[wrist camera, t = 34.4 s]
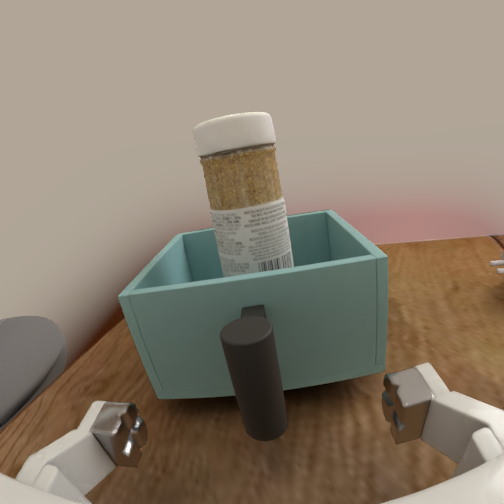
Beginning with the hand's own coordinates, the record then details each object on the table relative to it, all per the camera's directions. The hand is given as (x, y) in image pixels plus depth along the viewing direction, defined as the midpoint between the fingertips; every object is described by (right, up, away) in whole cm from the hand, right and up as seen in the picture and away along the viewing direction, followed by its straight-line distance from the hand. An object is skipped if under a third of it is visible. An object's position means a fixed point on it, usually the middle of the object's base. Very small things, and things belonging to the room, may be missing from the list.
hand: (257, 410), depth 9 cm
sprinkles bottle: (+1, 0, +12) cm, 12 cm away
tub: (+1, -1, +10) cm, 10 cm away
